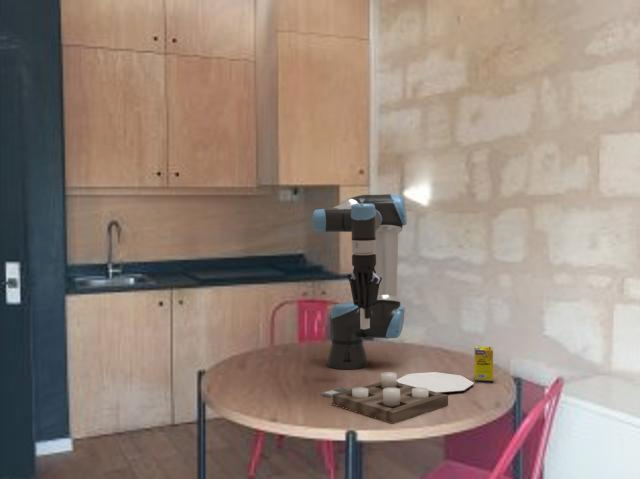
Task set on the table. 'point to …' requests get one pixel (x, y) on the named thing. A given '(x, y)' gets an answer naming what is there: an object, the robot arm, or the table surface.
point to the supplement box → (483, 364)
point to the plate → (437, 382)
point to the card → (334, 391)
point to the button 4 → (420, 393)
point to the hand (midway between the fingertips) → (365, 328)
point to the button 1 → (360, 392)
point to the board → (391, 413)
